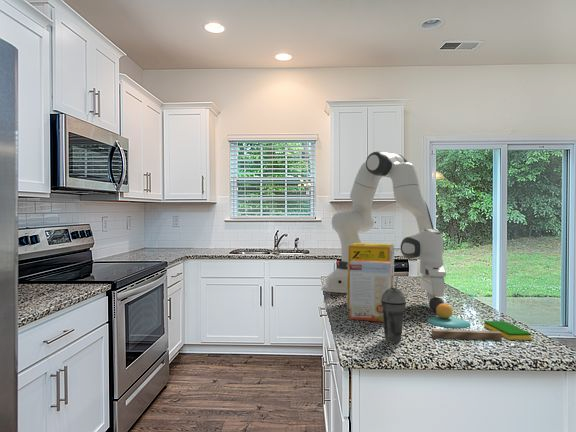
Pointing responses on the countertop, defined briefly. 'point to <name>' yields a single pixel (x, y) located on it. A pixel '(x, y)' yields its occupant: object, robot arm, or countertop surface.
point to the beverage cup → (393, 313)
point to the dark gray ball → (435, 303)
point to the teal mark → (448, 322)
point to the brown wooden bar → (466, 334)
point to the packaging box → (370, 258)
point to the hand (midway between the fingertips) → (431, 303)
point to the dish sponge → (508, 330)
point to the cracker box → (368, 288)
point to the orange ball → (444, 311)
